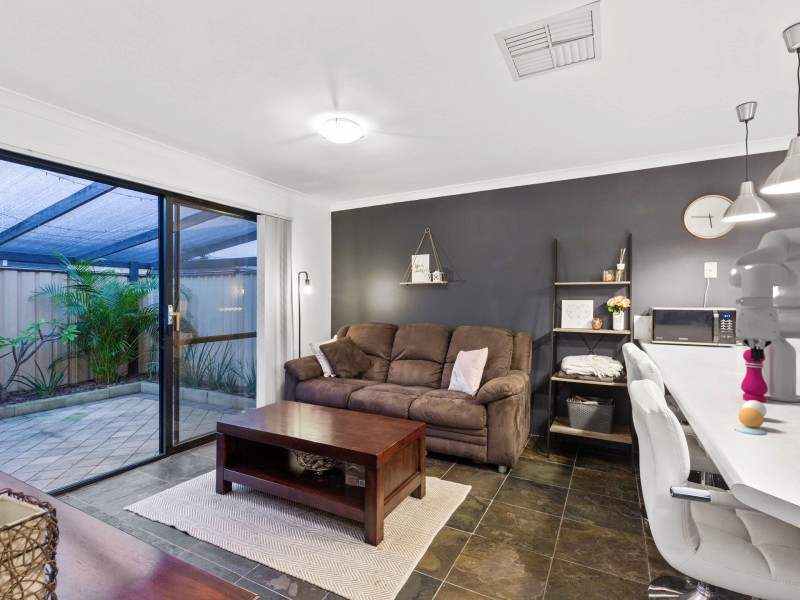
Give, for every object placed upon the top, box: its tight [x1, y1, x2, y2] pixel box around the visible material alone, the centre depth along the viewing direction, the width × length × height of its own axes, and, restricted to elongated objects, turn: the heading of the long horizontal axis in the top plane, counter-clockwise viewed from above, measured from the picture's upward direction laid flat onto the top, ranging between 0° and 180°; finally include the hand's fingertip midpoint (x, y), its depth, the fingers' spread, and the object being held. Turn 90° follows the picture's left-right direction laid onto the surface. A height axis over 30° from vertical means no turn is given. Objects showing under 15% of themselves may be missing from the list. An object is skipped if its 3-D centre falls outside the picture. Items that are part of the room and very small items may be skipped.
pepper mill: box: [740, 344, 768, 403], centre depth 144 cm, size 7×7×20 cm
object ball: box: [738, 408, 765, 428], centre depth 115 cm, size 6×6×6 cm
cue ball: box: [742, 400, 767, 418], centre depth 123 cm, size 6×6×6 cm
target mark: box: [735, 425, 767, 436], centre depth 112 cm, size 7×7×1 cm
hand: (757, 360), depth 127 cm, fingers closed
